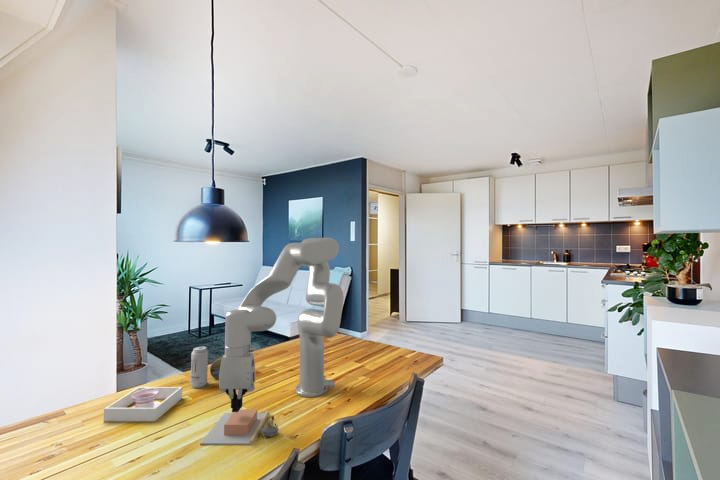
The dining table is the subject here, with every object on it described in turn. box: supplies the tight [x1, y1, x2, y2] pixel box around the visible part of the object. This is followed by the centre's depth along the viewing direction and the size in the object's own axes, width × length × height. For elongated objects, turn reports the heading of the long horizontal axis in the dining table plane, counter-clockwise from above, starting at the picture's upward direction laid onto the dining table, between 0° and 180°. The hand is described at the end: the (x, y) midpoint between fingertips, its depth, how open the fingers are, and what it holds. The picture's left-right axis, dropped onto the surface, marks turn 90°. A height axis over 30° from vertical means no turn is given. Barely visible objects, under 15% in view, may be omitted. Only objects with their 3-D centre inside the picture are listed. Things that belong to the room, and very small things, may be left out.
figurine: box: [260, 415, 280, 439], centre depth 96 cm, size 5×4×6 cm
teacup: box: [130, 388, 162, 408], centre depth 109 cm, size 12×12×6 cm
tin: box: [209, 357, 222, 380], centre depth 140 cm, size 15×3×8 cm, turn 122°
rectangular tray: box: [103, 386, 183, 422], centre depth 110 cm, size 16×16×4 cm
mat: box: [200, 410, 270, 446], centre depth 99 cm, size 15×17×1 cm
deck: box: [224, 409, 258, 435], centre depth 99 cm, size 3×9×7 cm
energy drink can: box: [190, 346, 209, 389], centre depth 130 cm, size 6×6×15 cm
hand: (236, 410), depth 99 cm, fingers closed
